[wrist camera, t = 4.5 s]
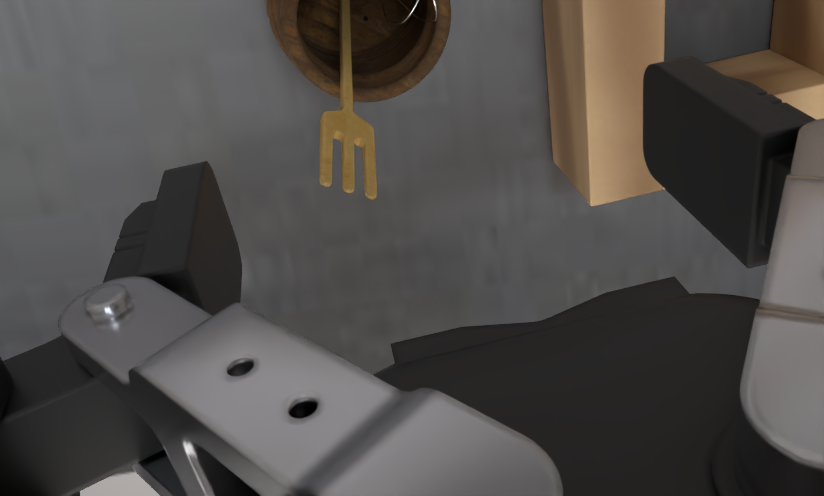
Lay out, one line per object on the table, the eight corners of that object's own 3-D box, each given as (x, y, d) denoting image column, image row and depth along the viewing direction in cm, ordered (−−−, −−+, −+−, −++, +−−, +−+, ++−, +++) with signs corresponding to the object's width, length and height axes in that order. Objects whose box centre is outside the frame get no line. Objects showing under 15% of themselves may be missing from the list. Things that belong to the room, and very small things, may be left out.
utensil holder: (447, -76, 27) (559, -9, 17) (386, 82, 30) (452, 222, 20) (292, -143, 25) (314, -111, 15) (242, 33, 28) (231, 160, 18)
